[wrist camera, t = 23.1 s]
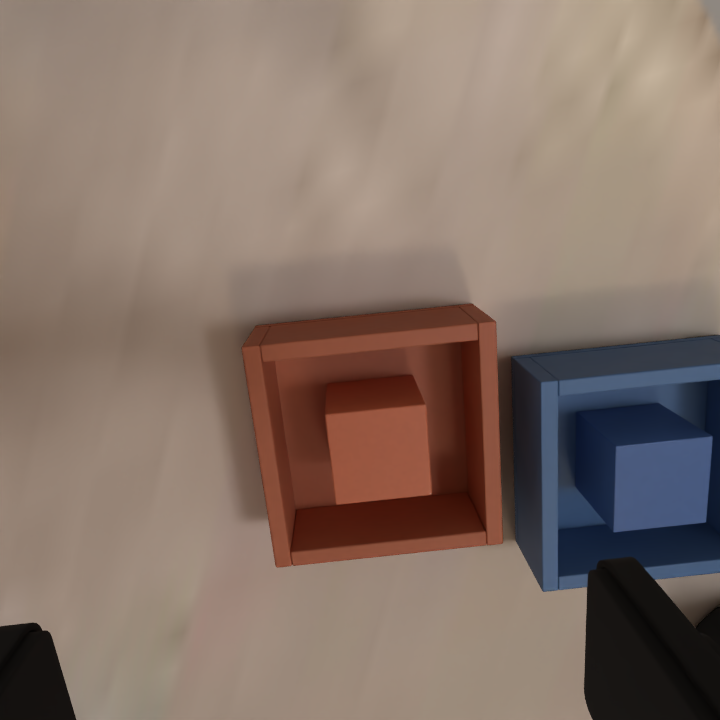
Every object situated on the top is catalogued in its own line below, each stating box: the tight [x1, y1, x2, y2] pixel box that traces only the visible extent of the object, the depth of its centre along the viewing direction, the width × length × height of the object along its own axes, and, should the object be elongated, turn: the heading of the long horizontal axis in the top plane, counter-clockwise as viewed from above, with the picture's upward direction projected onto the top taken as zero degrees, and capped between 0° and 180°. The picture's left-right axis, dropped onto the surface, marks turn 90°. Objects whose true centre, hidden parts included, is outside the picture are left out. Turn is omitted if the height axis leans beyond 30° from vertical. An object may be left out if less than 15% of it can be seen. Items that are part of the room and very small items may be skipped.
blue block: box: [575, 403, 713, 532], centre depth 28 cm, size 4×4×4 cm
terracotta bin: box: [242, 304, 503, 567], centre depth 28 cm, size 11×11×4 cm
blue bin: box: [511, 335, 720, 592], centre depth 29 cm, size 11×11×4 cm
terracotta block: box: [325, 375, 432, 505], centre depth 28 cm, size 4×4×4 cm
